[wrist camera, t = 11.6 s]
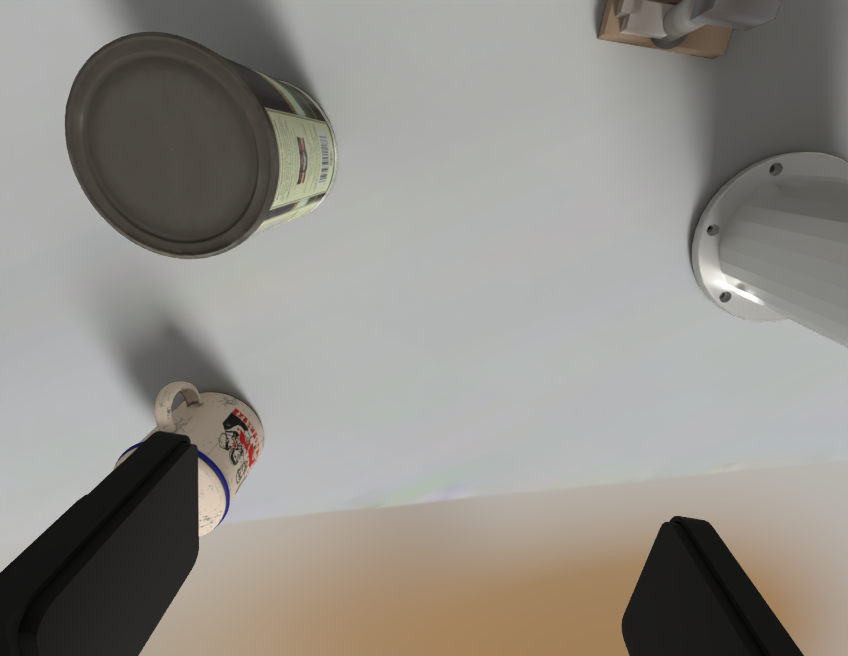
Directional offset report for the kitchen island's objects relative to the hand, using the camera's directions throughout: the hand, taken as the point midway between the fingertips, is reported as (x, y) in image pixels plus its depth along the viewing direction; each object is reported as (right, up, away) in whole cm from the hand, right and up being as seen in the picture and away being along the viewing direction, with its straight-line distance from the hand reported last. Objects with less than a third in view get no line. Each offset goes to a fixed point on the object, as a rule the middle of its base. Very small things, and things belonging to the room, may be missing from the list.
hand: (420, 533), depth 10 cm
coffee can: (-11, +17, +27) cm, 34 cm away
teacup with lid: (-19, -4, +35) cm, 40 cm away
